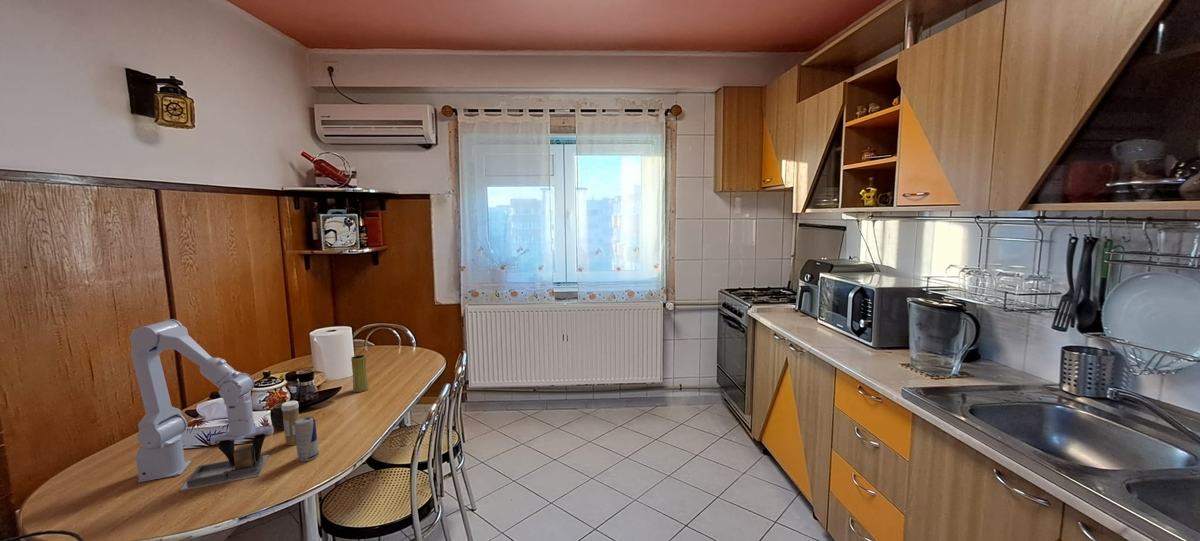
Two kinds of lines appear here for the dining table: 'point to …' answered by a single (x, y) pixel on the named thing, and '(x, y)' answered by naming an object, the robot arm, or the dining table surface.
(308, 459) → the energy drink
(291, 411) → the sprinkles bottle
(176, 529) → the dining table surface
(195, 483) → the keyhole plate
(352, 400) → the dining table surface
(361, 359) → the vase
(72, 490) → the dining table surface
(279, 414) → the mate gourd
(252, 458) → the walnut peg
